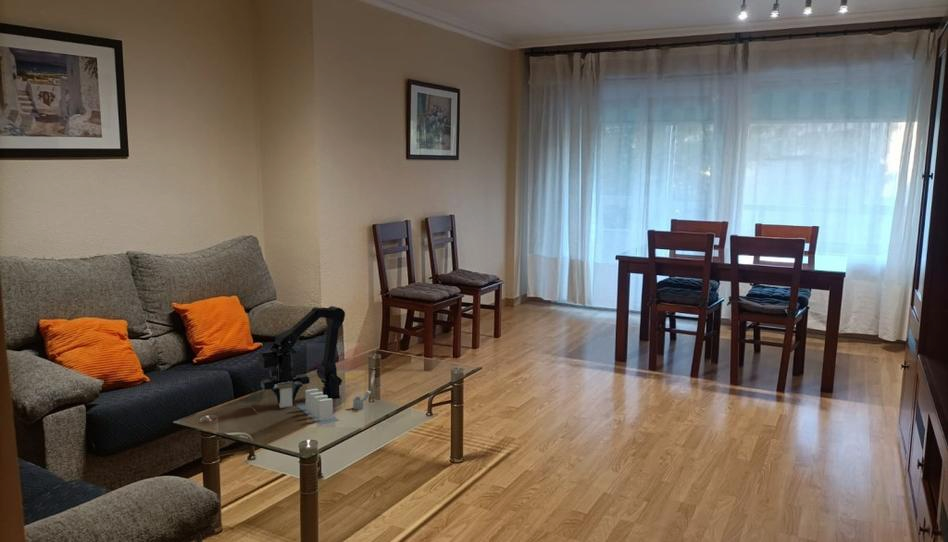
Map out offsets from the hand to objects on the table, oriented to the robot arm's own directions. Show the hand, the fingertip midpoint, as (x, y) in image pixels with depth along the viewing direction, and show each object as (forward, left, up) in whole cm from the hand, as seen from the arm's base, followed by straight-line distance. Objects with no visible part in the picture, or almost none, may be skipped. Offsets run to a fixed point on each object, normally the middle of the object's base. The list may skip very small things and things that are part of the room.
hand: (285, 402), depth 291 cm
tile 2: (-11, +12, -2) cm, 16 cm away
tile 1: (-10, +7, -2) cm, 12 cm away
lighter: (-29, +13, -2) cm, 32 cm away
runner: (-11, +11, -2) cm, 16 cm away
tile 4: (-13, +22, -2) cm, 25 cm away
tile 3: (-12, +17, -2) cm, 21 cm away
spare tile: (0, 0, -2) cm, 2 cm away
